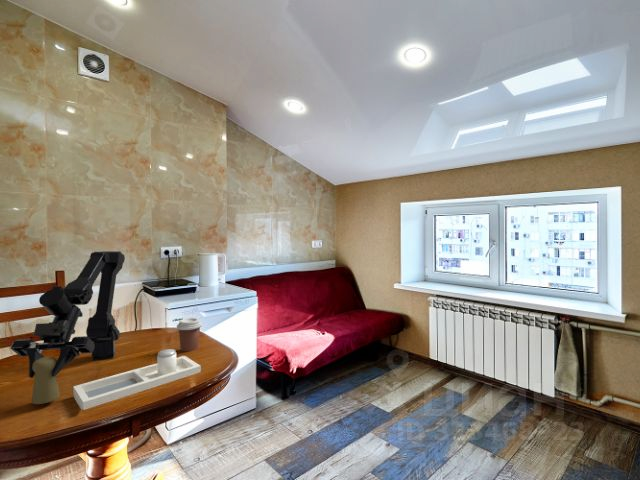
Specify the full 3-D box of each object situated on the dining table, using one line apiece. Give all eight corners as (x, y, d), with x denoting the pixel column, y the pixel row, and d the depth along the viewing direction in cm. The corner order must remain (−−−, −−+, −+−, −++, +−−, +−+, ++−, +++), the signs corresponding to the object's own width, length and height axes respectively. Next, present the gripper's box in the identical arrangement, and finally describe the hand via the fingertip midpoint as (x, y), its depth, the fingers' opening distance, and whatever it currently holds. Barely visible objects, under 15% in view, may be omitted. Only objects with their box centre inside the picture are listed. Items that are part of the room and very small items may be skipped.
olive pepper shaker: (28, 406, 88) (26, 364, 87) (35, 395, 93) (33, 356, 93) (57, 400, 91) (56, 360, 90) (62, 390, 96) (60, 352, 96)
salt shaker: (176, 369, 112) (176, 347, 112) (176, 376, 107) (176, 353, 107) (157, 372, 110) (157, 350, 110) (157, 379, 105) (156, 356, 104)
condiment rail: (184, 364, 119) (184, 355, 119) (200, 374, 110) (200, 365, 110) (73, 396, 96) (73, 386, 96) (83, 413, 87) (83, 402, 87)
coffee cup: (171, 353, 129) (171, 321, 128) (189, 345, 137) (188, 316, 137) (190, 356, 125) (189, 324, 125) (207, 348, 134) (206, 318, 133)
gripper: (13, 311, 93) (-17, 367, 83) (88, 308, 96) (68, 362, 86) (33, 329, 101) (8, 383, 91) (102, 327, 104) (85, 378, 94)
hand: (42, 376), depth 90 cm, fingers closed on olive pepper shaker, 5 cm apart
